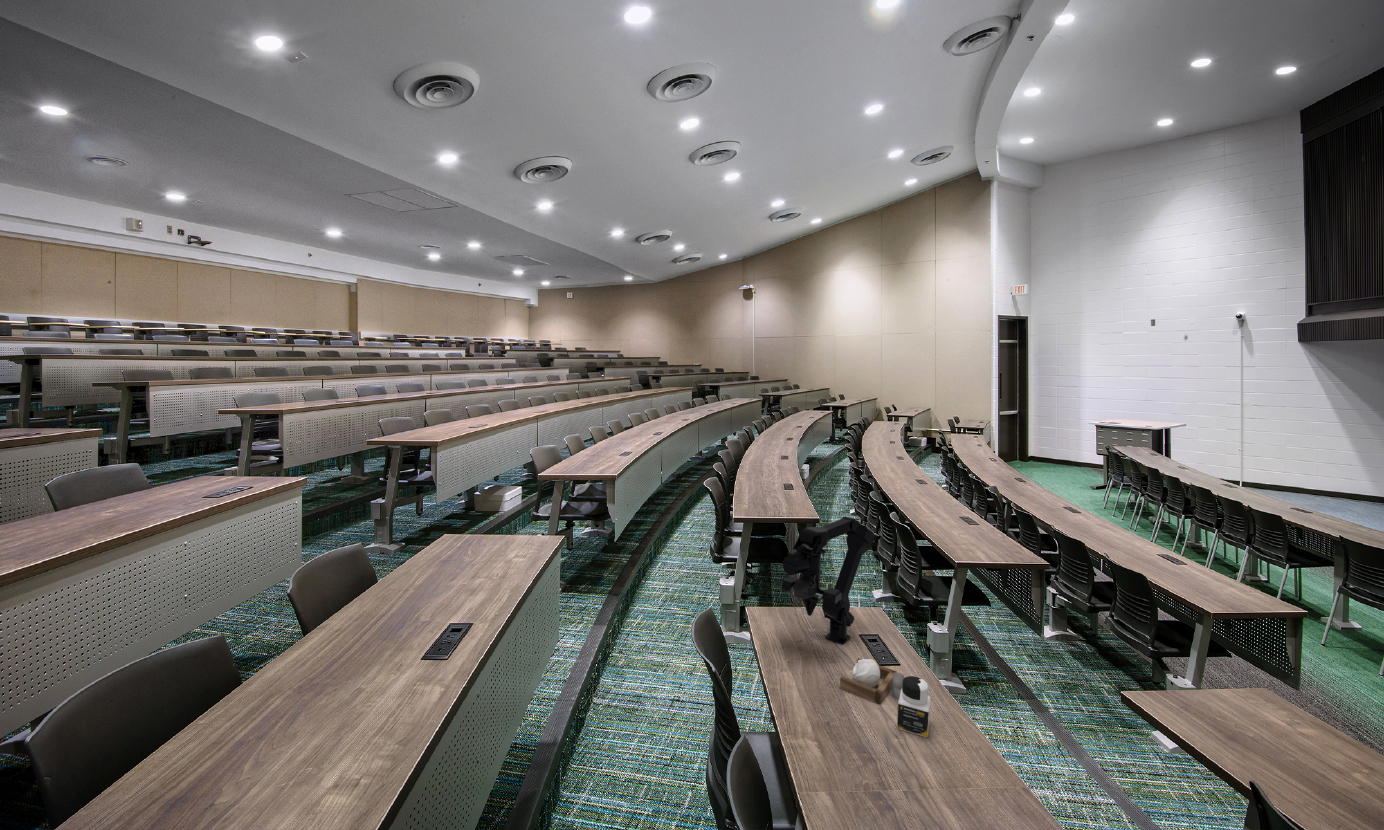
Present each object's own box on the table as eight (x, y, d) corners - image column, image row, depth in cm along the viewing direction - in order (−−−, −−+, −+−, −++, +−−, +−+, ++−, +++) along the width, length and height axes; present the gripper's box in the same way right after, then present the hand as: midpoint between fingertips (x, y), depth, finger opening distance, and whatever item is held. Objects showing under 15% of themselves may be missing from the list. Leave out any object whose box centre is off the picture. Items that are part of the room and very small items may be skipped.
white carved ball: (852, 674, 157) (853, 650, 157) (879, 680, 155) (880, 655, 154) (851, 690, 150) (852, 664, 149) (879, 696, 147) (880, 669, 147)
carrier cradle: (858, 667, 162) (858, 648, 161) (910, 686, 152) (911, 666, 152) (839, 688, 151) (840, 668, 150) (895, 710, 141) (896, 689, 141)
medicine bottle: (896, 728, 134) (898, 683, 133) (900, 712, 140) (902, 669, 139) (927, 738, 131) (929, 692, 130) (929, 721, 137) (931, 677, 136)
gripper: (773, 568, 168) (771, 615, 169) (828, 583, 156) (826, 634, 158) (789, 558, 177) (788, 603, 178) (843, 572, 165) (841, 620, 166)
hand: (809, 615), depth 170 cm, fingers closed
